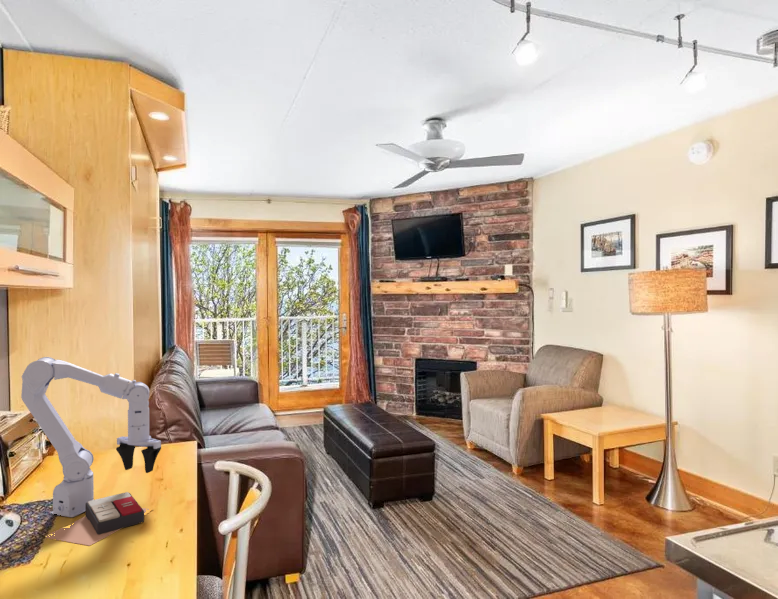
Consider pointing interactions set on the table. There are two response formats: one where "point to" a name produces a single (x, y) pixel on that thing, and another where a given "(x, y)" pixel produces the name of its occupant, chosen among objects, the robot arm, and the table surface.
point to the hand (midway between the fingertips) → (138, 470)
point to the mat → (80, 533)
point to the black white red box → (114, 512)
